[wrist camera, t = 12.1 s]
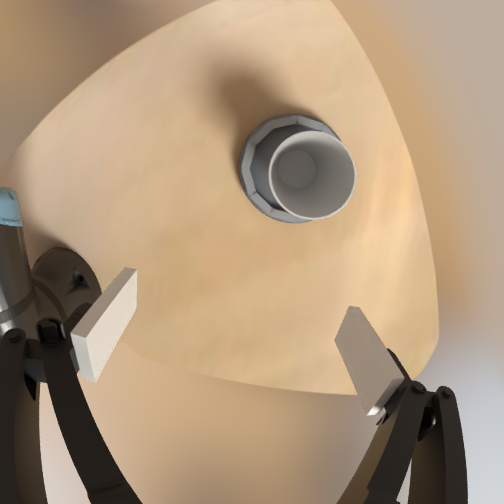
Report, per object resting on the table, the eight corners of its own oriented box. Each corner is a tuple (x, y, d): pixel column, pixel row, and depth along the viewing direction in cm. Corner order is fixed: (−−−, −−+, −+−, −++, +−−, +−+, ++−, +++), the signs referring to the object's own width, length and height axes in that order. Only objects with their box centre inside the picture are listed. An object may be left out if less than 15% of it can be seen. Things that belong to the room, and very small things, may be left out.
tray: (227, 206, 35) (226, 209, 33) (255, 102, 31) (255, 99, 29) (328, 232, 37) (332, 237, 35) (357, 135, 32) (363, 134, 30)
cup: (338, 183, 33) (369, 196, 24) (282, 212, 35) (294, 234, 25) (310, 126, 31) (332, 117, 21) (252, 155, 32) (251, 155, 23)
